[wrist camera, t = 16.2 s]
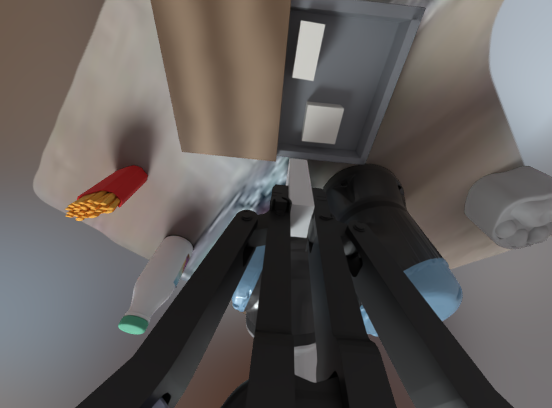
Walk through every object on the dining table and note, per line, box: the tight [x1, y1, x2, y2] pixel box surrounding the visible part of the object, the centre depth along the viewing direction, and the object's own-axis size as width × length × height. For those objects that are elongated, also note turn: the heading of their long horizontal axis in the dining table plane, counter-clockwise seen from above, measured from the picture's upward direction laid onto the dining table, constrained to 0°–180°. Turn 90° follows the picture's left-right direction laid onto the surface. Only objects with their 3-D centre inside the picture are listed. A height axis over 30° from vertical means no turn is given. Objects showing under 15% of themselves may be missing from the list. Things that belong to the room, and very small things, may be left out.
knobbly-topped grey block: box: [464, 166, 552, 249], centre depth 36 cm, size 10×13×9 cm
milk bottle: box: [118, 236, 193, 334], centre depth 44 cm, size 8×8×20 cm
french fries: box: [66, 165, 148, 221], centre depth 35 cm, size 8×4×12 cm, turn 108°
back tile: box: [301, 101, 344, 144], centre depth 30 cm, size 5×5×2 cm
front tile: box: [292, 20, 325, 81], centre depth 24 cm, size 5×5×2 cm
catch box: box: [276, 0, 426, 165], centre depth 28 cm, size 14×18×4 cm
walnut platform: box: [151, 0, 291, 161], centre depth 27 cm, size 14×18×6 cm
